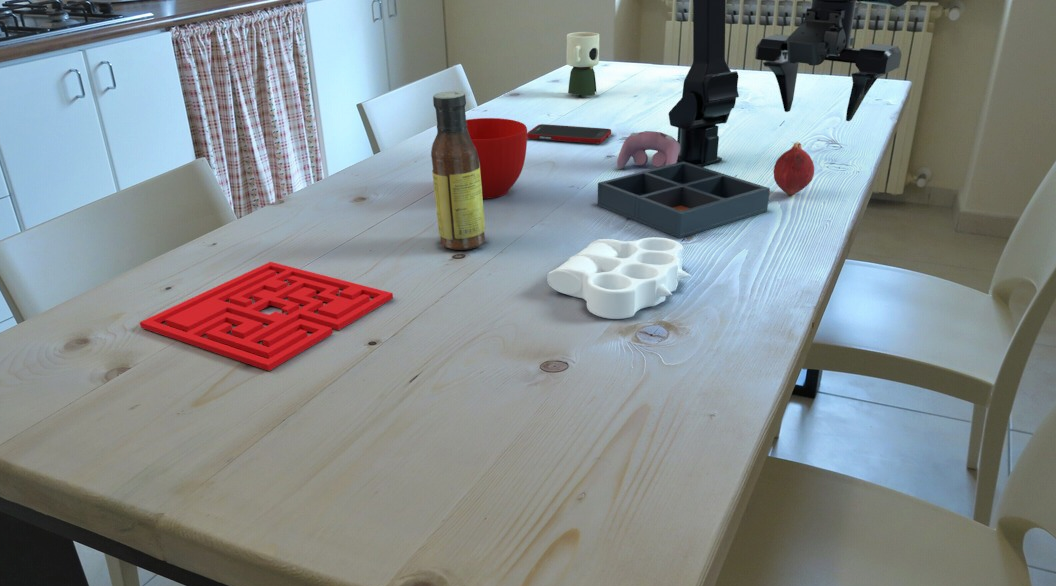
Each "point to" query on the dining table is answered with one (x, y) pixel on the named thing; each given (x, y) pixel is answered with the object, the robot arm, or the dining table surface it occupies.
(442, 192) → the sauce bottle
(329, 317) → the maze puzzle
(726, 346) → the dining table surface
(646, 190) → the grid
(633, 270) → the white brass knuckles
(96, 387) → the dining table surface
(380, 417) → the dining table surface
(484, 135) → the ceramic cup
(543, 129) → the cell phone
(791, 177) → the onion
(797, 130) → the dining table surface
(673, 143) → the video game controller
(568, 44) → the character mug
